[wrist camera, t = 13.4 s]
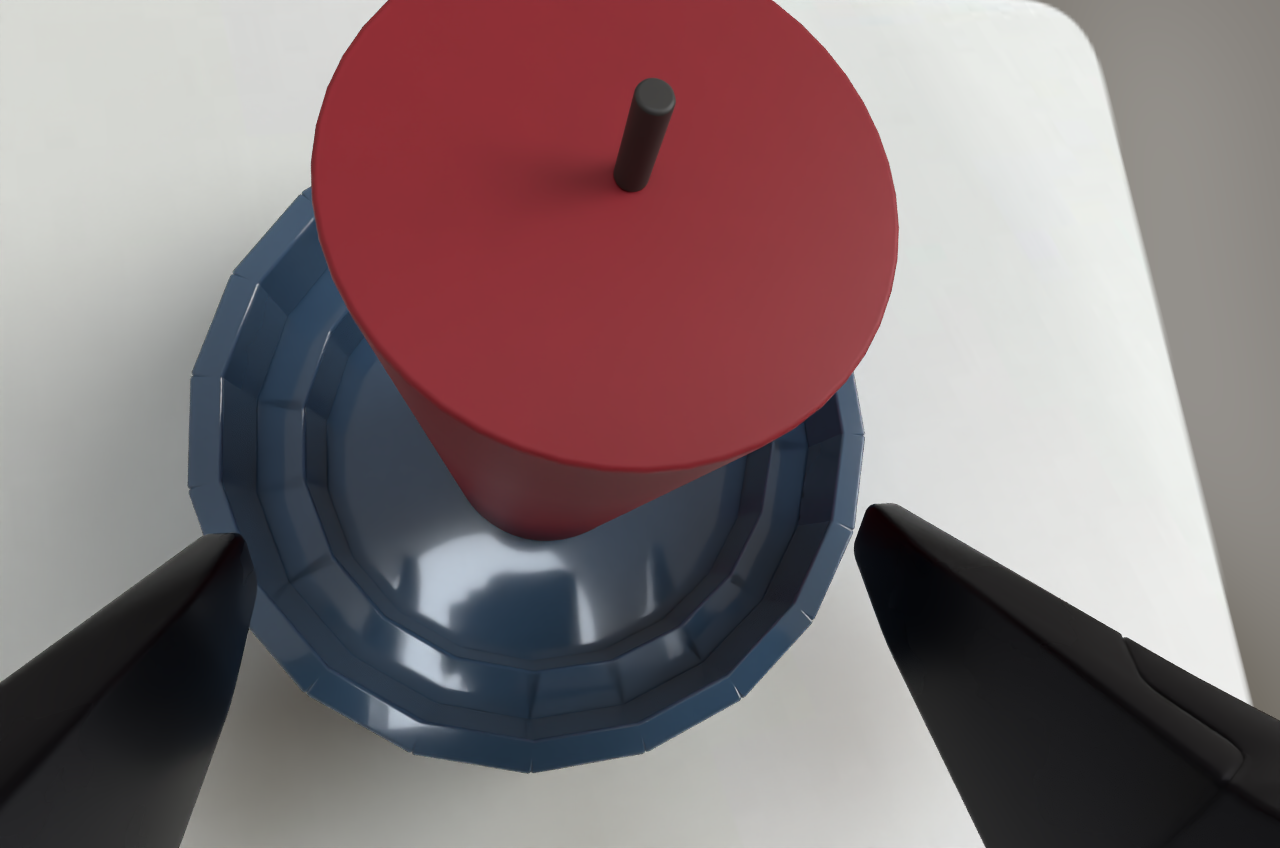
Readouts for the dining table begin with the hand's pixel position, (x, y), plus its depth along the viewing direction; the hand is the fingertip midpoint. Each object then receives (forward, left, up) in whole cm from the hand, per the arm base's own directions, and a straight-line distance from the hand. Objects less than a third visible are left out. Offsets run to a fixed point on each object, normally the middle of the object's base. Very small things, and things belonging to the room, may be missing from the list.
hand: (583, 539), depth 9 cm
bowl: (+2, -3, -8) cm, 9 cm away
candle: (+2, -2, -8) cm, 8 cm away
